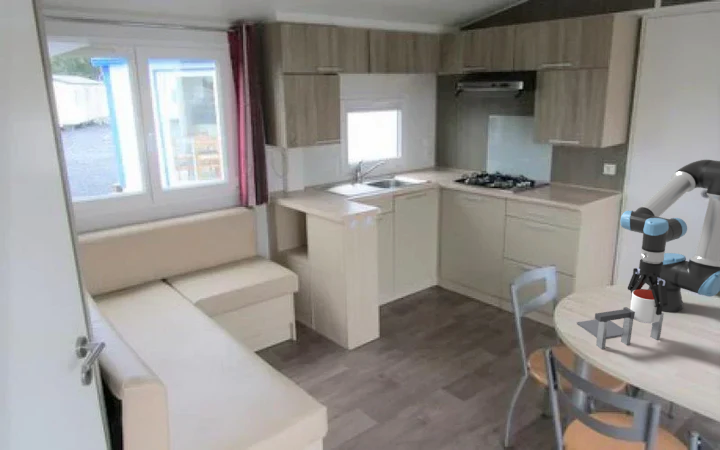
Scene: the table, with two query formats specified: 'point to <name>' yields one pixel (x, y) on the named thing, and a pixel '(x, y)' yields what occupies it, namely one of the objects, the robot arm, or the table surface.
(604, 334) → the posts
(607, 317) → the bar
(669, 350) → the table surface
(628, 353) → the table surface
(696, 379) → the table surface
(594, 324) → the mat
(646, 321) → the cup
